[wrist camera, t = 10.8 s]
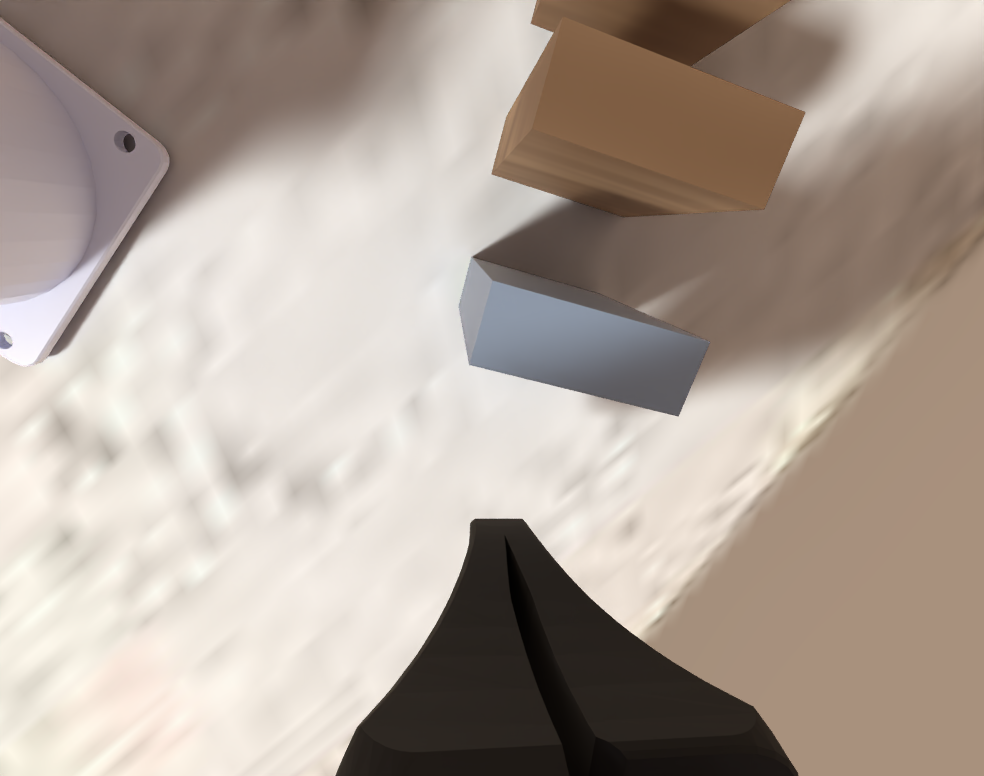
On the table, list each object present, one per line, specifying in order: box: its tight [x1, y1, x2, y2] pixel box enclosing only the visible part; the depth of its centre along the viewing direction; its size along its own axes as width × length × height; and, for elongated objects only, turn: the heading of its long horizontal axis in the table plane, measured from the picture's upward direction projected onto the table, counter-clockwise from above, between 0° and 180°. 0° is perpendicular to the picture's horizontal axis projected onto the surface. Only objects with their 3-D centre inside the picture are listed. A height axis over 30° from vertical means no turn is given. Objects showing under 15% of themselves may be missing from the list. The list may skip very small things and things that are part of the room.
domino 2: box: [492, 17, 805, 217], centre depth 11 cm, size 2×4×7 cm, turn 74°
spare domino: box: [459, 257, 710, 416], centre depth 12 cm, size 2×4×7 cm, turn 74°
